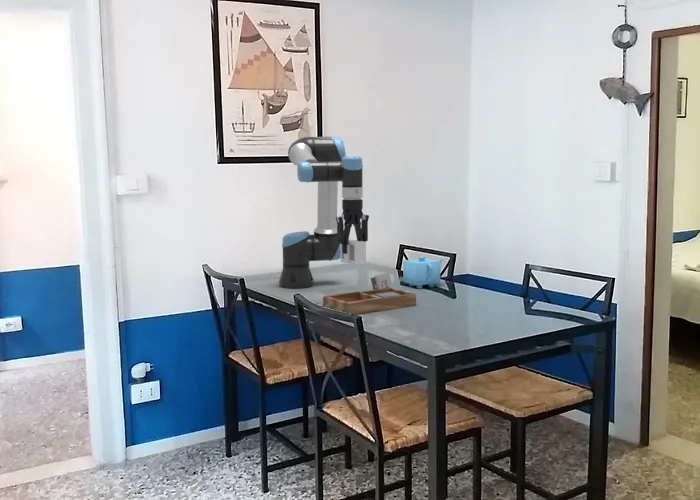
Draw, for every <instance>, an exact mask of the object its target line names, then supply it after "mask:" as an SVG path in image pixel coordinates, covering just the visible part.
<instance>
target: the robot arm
mask: <svg viewBox="0 0 700 500" xmlns="http://www.w3.org/2000/svg"><path fill="white" fill-rule="evenodd" d="M287 155H288V156H287V157H288V159H289V161H290V162H291V163H292V164H293V165H294V166H296V167H297V168H296V169H297V171H296V172H297V174H296V175H297V179H298V181H299V182H301V183H317V221H316V223H317V226H316V228H314V229H313V234H310V232H309V231H308V230H305V231H304V230H302V231H294V232H291V233H290V232H289V233H287V234H284V236H283V237H282V240H281V241H282V245H281V247H282V270H281V273H280V274H281V275H280V277H279V280H278V286H279V287H281V288H284V289H285V288H286V289H307V288H311V287H313V286H314V285H315V283H314V277H313V273H312V271H311V268H310V262H321V261H322V262H324V261H330V262H331V261H337V260H341V251H340V244H342V253H344V262H343V263H345V262H347V263H346V264H350V245H347V244H348V240H350V233H351V228H352V226H354V231H355V235H356V240H357V241H363V242H366V243H367V242H368V239H369V238H368V237H369V231H368V230H369V229H368V228H369V225H368V223H369V219H370V216H369V214H366V213H365V214H364V213H363V208H364V207H363V203H364V202H363V190H364V189H363V168H364V165H363V158H362V157H361V156H354V155H353V156H352V155H351V156H350V155H349V156H348V155H347V153H346V148H345V144H344V140H343V139H342V138H341V137H338V136H304V137H302V138H299V139H296V140H295V141H294V142H293V143H292V144H291V145H290V146H289V148H288V151H287ZM346 155H347V156H346ZM339 182H341V184H342V185H341V198H343V199H342V200H341V201H342V202H341V208H342V213H341V215H339V216H338V185H339V184H338V183H339Z"/></svg>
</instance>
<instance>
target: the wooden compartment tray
mask: <svg viewBox="0 0 700 500" xmlns="http://www.w3.org/2000/svg"><path fill="white" fill-rule="evenodd" d="M387 292H394V293H397V294H400V295H401V296H394V297H387V298H381V297H380V298H379V297H376V296H372V295H373V294H378V293H387ZM412 306H417V293H415V292H410V291H406V290H402V289H399V288H395V287H393V288H384V289H377V290H373V289H371V290H363V291H359V290H356V291H351V292H341V293H335V294H334V293H333V294H328V295H323V297H322V308H323V307H326V308H330V309H334V310H337V311H342V312H346V313H351V314H356V315H355V316H357V314H358V315H362V314H363V313H364V314H369V313H368V312H370V313H375V312H374V311H376V312H381V310H383V311H387V310H388V309H389V310H394V309H401V308H407V307H412ZM364 314H363V315H364Z"/></svg>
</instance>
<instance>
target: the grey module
mask: <svg viewBox="0 0 700 500" xmlns="http://www.w3.org/2000/svg"><path fill="white" fill-rule="evenodd" d="M372 296H376V297H379V298H380V297H381V298H387V297H394V296H401V295H400V294H397V293H394V292H387V293H378V294H373V295H372Z"/></svg>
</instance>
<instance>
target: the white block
mask: <svg viewBox="0 0 700 500" xmlns="http://www.w3.org/2000/svg"><path fill="white" fill-rule="evenodd" d="M347 245H350V263H349V264H351V265H357V266H359V265H365V264H367V241H366V242H363V241H357V239H356V240H355V239H349V240H348V244H347ZM340 251H341V258H340V263H345V264H348V263H347V262H344V253H342V244H340Z"/></svg>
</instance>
